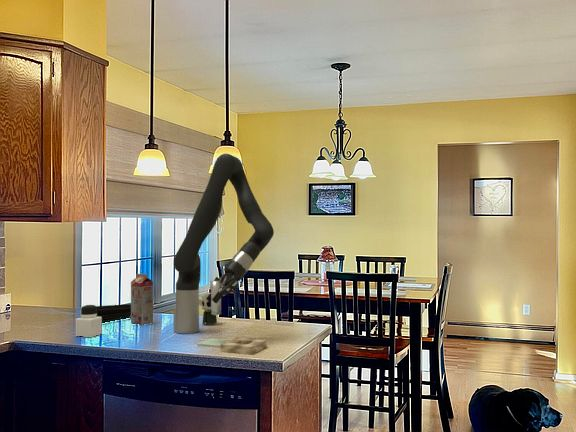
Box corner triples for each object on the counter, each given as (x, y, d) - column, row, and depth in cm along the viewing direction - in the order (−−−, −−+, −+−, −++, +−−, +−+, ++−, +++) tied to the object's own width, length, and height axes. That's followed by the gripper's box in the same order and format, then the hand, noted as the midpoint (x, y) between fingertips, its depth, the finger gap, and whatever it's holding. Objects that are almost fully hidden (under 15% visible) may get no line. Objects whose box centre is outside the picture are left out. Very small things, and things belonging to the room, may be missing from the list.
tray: (108, 326, 249) (108, 314, 249) (65, 323, 257) (65, 311, 257) (148, 315, 277) (148, 304, 277) (108, 313, 286) (108, 302, 286)
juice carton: (141, 326, 249) (141, 274, 249) (131, 324, 252) (130, 274, 252) (153, 323, 254) (153, 273, 254) (142, 322, 258) (142, 273, 258)
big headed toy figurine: (194, 324, 251) (194, 294, 251) (203, 322, 257) (203, 293, 258) (216, 326, 247) (216, 296, 247) (224, 324, 253) (224, 294, 253)
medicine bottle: (102, 334, 230) (102, 304, 230) (90, 338, 223) (90, 307, 223) (87, 333, 232) (87, 303, 233) (75, 337, 226) (75, 306, 226)
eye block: (220, 351, 199) (220, 344, 199) (236, 344, 210) (236, 337, 210) (252, 354, 195) (252, 347, 195) (266, 347, 206) (266, 340, 206)
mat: (196, 345, 209) (196, 343, 209) (210, 339, 219) (210, 338, 219) (221, 347, 206) (221, 345, 206) (234, 341, 215) (234, 340, 215)
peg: (209, 314, 211) (209, 281, 212) (214, 313, 215) (213, 280, 215) (218, 315, 210) (217, 282, 210) (222, 313, 213) (222, 281, 213)
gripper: (222, 258, 223) (195, 292, 215) (243, 260, 212) (214, 296, 204) (234, 271, 226) (207, 305, 218) (255, 273, 215) (227, 309, 207)
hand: (211, 301), depth 211 cm, fingers closed on peg, 3 cm apart
